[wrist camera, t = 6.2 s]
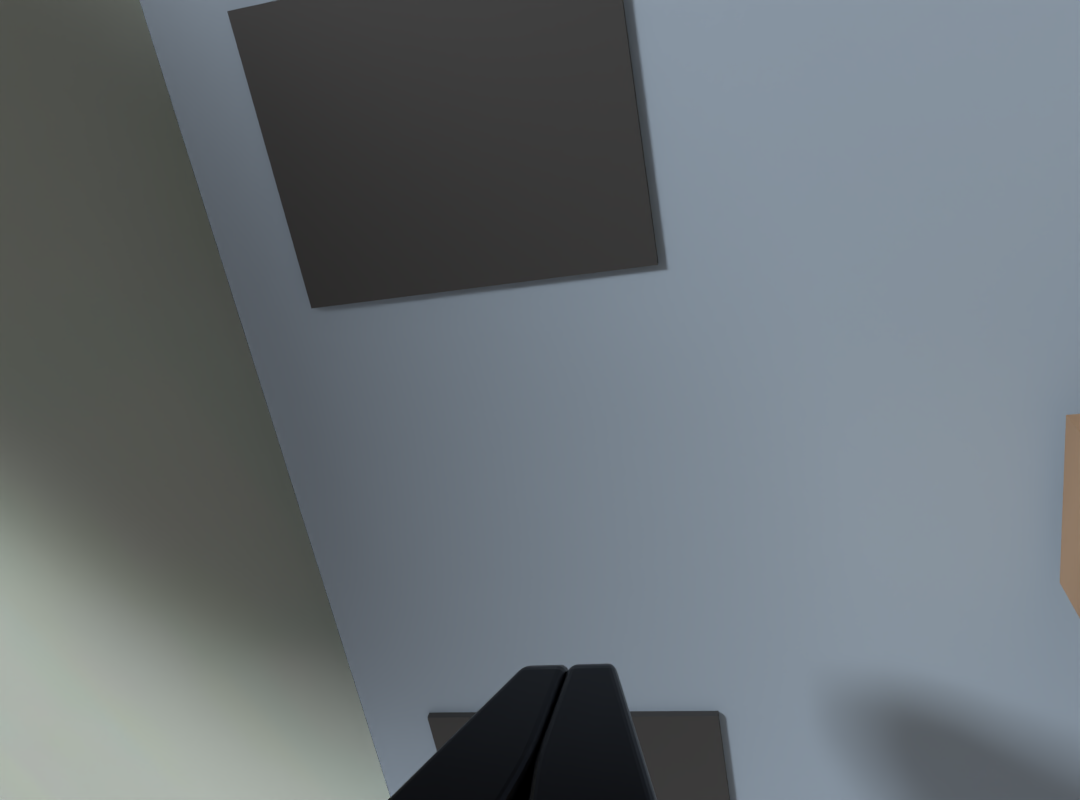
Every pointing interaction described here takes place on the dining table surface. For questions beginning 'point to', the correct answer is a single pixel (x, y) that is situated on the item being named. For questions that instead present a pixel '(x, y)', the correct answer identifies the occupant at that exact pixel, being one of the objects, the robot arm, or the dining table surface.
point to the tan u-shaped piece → (1071, 514)
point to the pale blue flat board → (672, 364)
